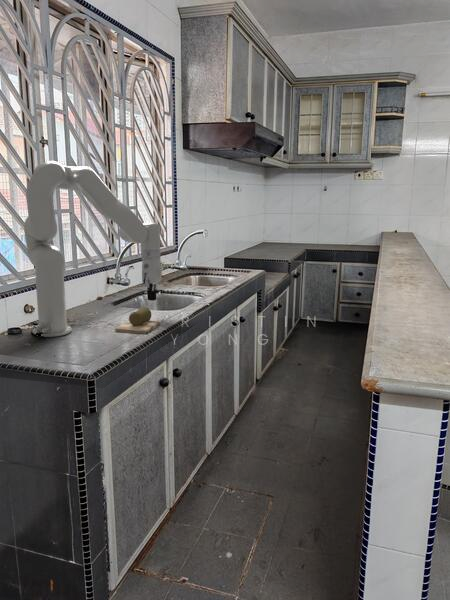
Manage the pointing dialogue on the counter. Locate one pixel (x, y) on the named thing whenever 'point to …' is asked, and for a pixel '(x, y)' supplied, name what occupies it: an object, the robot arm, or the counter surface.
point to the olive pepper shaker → (140, 316)
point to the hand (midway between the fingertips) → (152, 299)
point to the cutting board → (137, 327)
